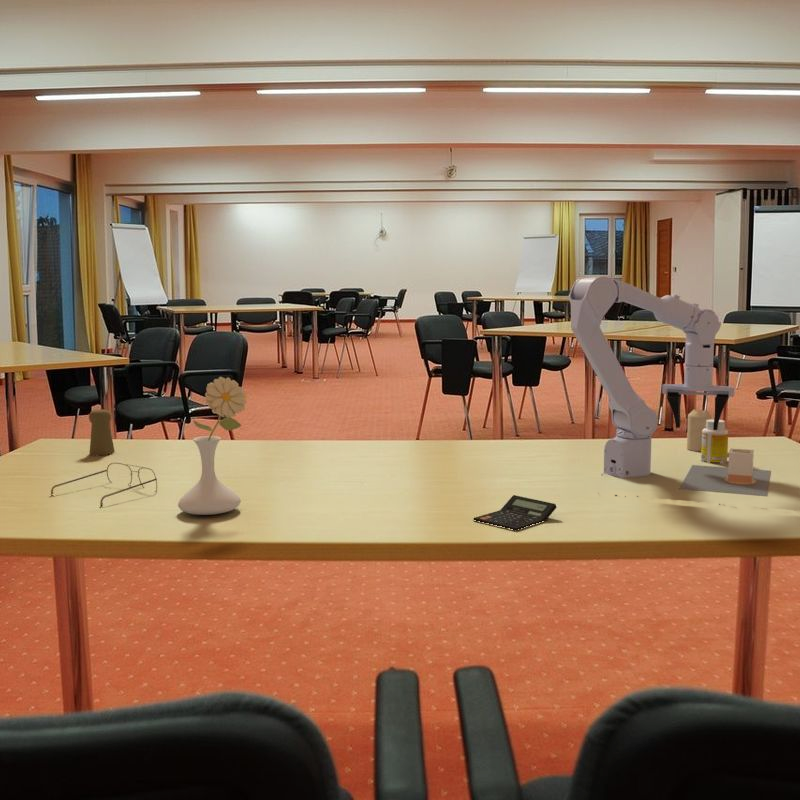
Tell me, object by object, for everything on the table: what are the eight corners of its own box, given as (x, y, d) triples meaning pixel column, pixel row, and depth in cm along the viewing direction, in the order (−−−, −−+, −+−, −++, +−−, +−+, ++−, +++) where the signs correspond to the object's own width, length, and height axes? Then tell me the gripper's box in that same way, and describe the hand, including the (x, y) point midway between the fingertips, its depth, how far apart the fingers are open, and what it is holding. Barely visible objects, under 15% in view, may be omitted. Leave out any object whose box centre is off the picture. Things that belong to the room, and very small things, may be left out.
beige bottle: (712, 448, 217) (714, 408, 215) (707, 452, 212) (709, 411, 211) (689, 446, 220) (691, 407, 218) (684, 450, 215) (685, 410, 214)
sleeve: (751, 483, 175) (752, 453, 174) (727, 481, 176) (729, 452, 176) (752, 478, 179) (753, 449, 178) (729, 477, 180) (730, 448, 180)
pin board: (767, 501, 165) (768, 475, 165) (678, 493, 172) (679, 468, 171) (770, 475, 187) (771, 452, 186) (692, 469, 194) (693, 447, 193)
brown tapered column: (89, 452, 220) (87, 408, 219) (115, 450, 222) (112, 407, 221) (88, 456, 215) (86, 412, 213) (114, 454, 217) (112, 410, 215)
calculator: (473, 522, 154) (473, 506, 154) (514, 510, 162) (514, 494, 162) (515, 533, 147) (515, 515, 147) (556, 519, 155) (556, 503, 155)
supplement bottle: (731, 465, 197) (733, 420, 196) (718, 469, 194) (720, 423, 192) (709, 461, 202) (711, 417, 200) (695, 465, 198) (697, 420, 197)
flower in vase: (179, 522, 155) (173, 382, 151) (177, 506, 166) (171, 375, 162) (253, 516, 158) (249, 379, 155) (246, 501, 169) (242, 372, 166)
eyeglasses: (162, 493, 179) (161, 469, 178) (101, 508, 167) (99, 483, 166) (112, 483, 188) (111, 460, 187) (50, 497, 176) (49, 473, 175)
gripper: (736, 364, 187) (733, 427, 189) (666, 362, 193) (664, 423, 195) (734, 367, 181) (731, 432, 182) (661, 365, 187) (659, 428, 188)
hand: (696, 428), depth 188 cm, fingers open, 7 cm apart
